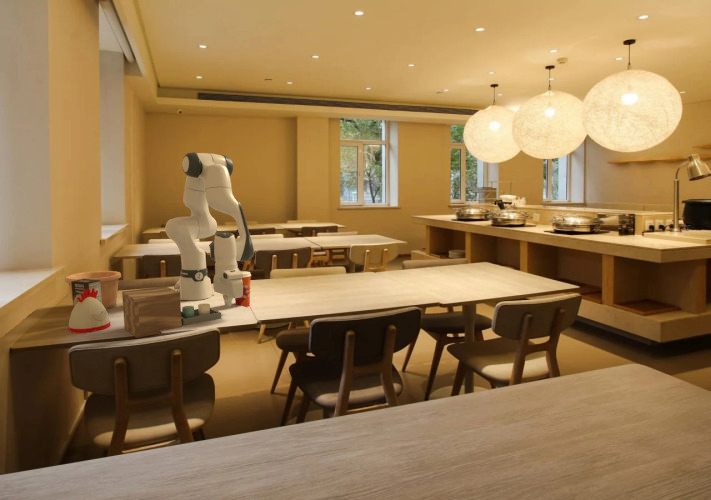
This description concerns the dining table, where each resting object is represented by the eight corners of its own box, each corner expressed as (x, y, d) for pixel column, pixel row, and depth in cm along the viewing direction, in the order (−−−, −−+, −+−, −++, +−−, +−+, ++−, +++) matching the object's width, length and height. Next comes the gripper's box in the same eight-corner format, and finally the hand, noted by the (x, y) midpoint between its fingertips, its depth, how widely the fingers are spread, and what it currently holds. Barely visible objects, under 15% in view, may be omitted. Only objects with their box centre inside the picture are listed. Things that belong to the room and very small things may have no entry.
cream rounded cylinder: (197, 316, 198) (196, 304, 197) (207, 315, 200) (207, 302, 200) (201, 319, 194) (200, 306, 194) (212, 317, 197) (211, 304, 196)
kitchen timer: (118, 325, 190) (115, 287, 188) (86, 335, 178) (83, 294, 176) (93, 321, 196) (90, 284, 194) (60, 330, 184) (57, 291, 182)
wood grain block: (124, 327, 186) (122, 291, 184) (167, 320, 196) (165, 285, 194) (136, 337, 174) (134, 299, 172) (181, 329, 184) (179, 292, 182)
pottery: (73, 303, 226) (71, 272, 225) (126, 299, 233) (124, 269, 231) (61, 314, 206) (58, 281, 204) (119, 310, 213) (117, 277, 211)
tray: (173, 320, 195) (172, 313, 195) (209, 314, 205) (209, 307, 204) (183, 327, 186) (183, 319, 186) (221, 320, 196) (221, 312, 195)
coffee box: (73, 320, 197) (69, 281, 195) (86, 316, 203) (83, 278, 201) (90, 322, 194) (87, 282, 192) (104, 318, 200) (101, 279, 198)
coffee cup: (247, 308, 215) (246, 274, 213) (230, 307, 216) (228, 274, 214) (255, 304, 223) (254, 271, 221) (238, 303, 224) (237, 270, 222)
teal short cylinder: (180, 319, 193) (180, 307, 193) (191, 317, 196) (191, 305, 196) (185, 321, 190) (184, 309, 189) (196, 319, 193) (195, 307, 192)
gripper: (208, 270, 207) (210, 302, 209) (230, 276, 191) (232, 311, 193) (222, 268, 211) (224, 300, 213) (245, 274, 195) (246, 308, 197)
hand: (228, 305), depth 203 cm, fingers closed
